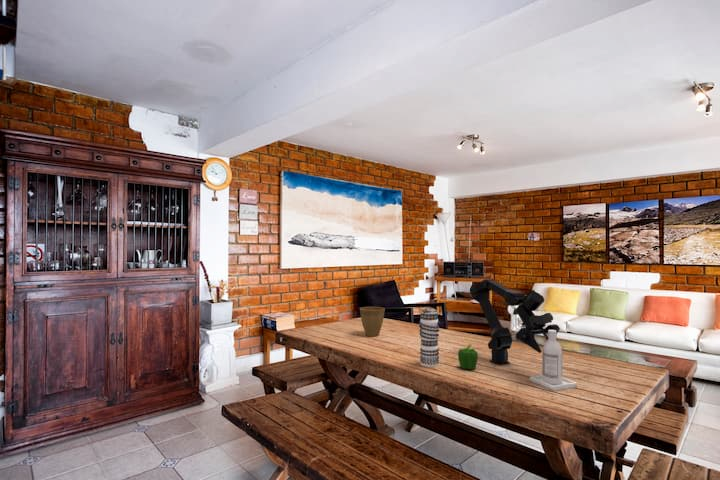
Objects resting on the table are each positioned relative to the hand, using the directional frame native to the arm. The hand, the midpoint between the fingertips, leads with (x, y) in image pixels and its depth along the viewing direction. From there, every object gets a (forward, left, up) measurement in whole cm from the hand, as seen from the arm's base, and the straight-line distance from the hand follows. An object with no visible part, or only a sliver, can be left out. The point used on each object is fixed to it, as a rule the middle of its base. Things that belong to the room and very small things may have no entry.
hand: (549, 351), depth 156 cm
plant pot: (-36, +99, -13) cm, 106 cm away
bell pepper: (-19, +27, -13) cm, 35 cm away
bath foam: (0, -1, -12) cm, 12 cm away
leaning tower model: (-32, +38, -12) cm, 51 cm away
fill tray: (0, -1, -12) cm, 12 cm away
